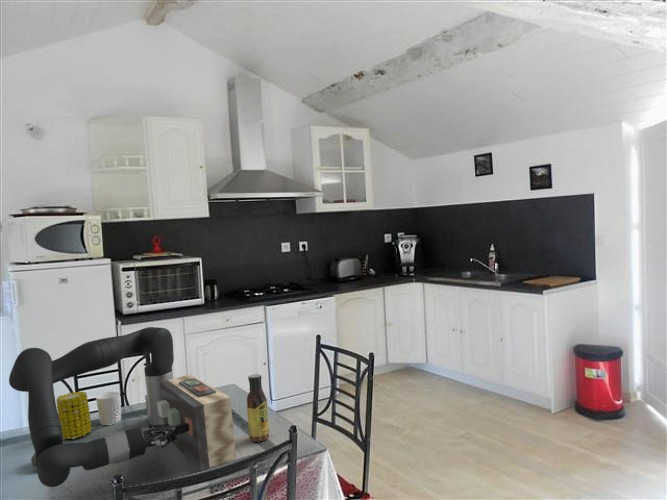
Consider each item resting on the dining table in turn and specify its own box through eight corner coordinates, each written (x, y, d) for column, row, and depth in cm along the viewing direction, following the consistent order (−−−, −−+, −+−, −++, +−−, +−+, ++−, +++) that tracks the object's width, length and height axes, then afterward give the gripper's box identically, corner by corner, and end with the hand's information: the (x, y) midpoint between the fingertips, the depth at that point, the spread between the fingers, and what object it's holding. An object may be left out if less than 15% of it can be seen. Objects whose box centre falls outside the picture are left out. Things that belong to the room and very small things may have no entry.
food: (66, 448, 169) (61, 440, 177) (103, 429, 176) (96, 422, 184) (49, 406, 166) (45, 400, 175) (87, 389, 173) (81, 384, 181)
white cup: (103, 419, 188) (100, 392, 188) (125, 417, 189) (122, 390, 188) (95, 428, 181) (92, 400, 180) (118, 425, 181) (115, 397, 181)
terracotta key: (191, 435, 145) (189, 421, 145) (186, 431, 148) (184, 417, 148) (199, 433, 146) (198, 418, 146) (194, 428, 150) (193, 414, 150)
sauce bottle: (265, 443, 157) (260, 379, 156) (246, 442, 159) (240, 379, 157) (272, 434, 164) (267, 372, 163) (254, 433, 165) (248, 372, 164)
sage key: (172, 427, 152) (171, 413, 152) (168, 423, 155) (166, 409, 155) (181, 425, 153) (179, 411, 153) (176, 421, 157) (175, 407, 157)
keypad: (200, 470, 143) (194, 404, 141) (165, 435, 169) (159, 379, 168) (235, 458, 149) (230, 394, 147) (196, 426, 175) (191, 371, 174)
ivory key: (162, 418, 160) (161, 405, 160) (158, 414, 164) (157, 401, 163) (170, 416, 162) (169, 402, 161) (166, 412, 165) (165, 399, 165)
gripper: (119, 451, 142) (181, 432, 152) (131, 468, 131) (197, 447, 141) (117, 424, 142) (179, 407, 152) (128, 439, 131) (195, 420, 141)
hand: (188, 426), depth 146 cm, fingers closed
